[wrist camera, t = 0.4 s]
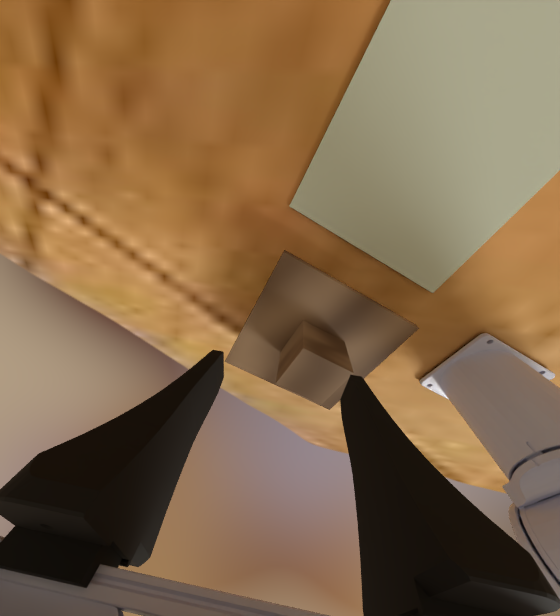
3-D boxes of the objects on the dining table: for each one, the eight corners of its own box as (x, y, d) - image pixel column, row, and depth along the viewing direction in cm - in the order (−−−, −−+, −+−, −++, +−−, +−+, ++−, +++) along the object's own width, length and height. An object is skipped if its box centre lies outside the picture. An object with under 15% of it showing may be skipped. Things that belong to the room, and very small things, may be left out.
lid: (415, 324, 16) (448, 360, 12) (328, 404, 22) (333, 446, 18) (284, 249, 14) (278, 266, 11) (226, 357, 20) (209, 392, 16)
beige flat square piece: (653, 73, 11) (662, 70, 11) (430, 291, 18) (432, 293, 17) (453, -126, 9) (458, -137, 9) (289, 206, 16) (289, 206, 16)
